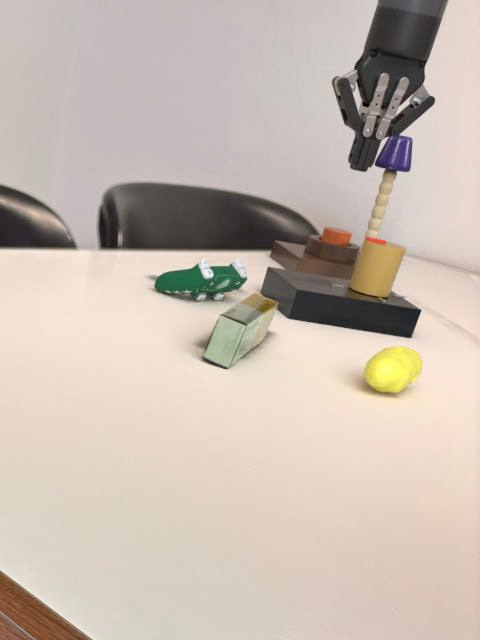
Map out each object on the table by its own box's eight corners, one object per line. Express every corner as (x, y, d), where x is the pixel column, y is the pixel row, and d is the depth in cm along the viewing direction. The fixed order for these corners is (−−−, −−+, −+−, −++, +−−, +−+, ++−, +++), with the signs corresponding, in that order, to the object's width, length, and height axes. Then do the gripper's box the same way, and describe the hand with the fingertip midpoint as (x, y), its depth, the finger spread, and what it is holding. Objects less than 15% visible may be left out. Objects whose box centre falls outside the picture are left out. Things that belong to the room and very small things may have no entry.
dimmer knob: (380, 289, 118) (398, 240, 115) (394, 299, 114) (413, 248, 111) (343, 283, 117) (359, 233, 114) (356, 293, 113) (373, 241, 111)
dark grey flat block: (377, 312, 122) (387, 284, 120) (414, 338, 114) (425, 308, 112) (259, 293, 120) (268, 264, 118) (288, 318, 111) (298, 287, 110)
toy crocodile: (161, 313, 111) (203, 285, 106) (149, 279, 111) (190, 249, 106) (217, 311, 116) (259, 284, 112) (206, 279, 117) (247, 250, 112)
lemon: (425, 393, 95) (442, 350, 93) (386, 404, 89) (403, 358, 87) (382, 377, 97) (398, 334, 95) (342, 387, 91) (358, 342, 89)
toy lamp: (343, 265, 146) (386, 133, 138) (341, 259, 150) (383, 130, 142) (377, 273, 146) (423, 141, 137) (375, 267, 150) (419, 138, 141)
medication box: (229, 370, 90) (247, 325, 88) (200, 358, 90) (217, 313, 88) (263, 342, 99) (280, 300, 97) (236, 331, 100) (253, 289, 98)
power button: (341, 243, 138) (346, 229, 137) (352, 250, 135) (356, 235, 134) (315, 239, 138) (320, 225, 137) (325, 245, 134) (330, 231, 134)
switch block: (352, 271, 143) (363, 240, 141) (382, 290, 135) (393, 258, 133) (269, 257, 141) (278, 225, 139) (293, 275, 133) (304, 242, 131)
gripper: (370, -2, 118) (318, 165, 127) (477, 22, 121) (419, 184, 130) (344, -3, 125) (297, 156, 134) (447, 19, 127) (394, 174, 136)
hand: (358, 170), depth 132 cm, fingers closed
